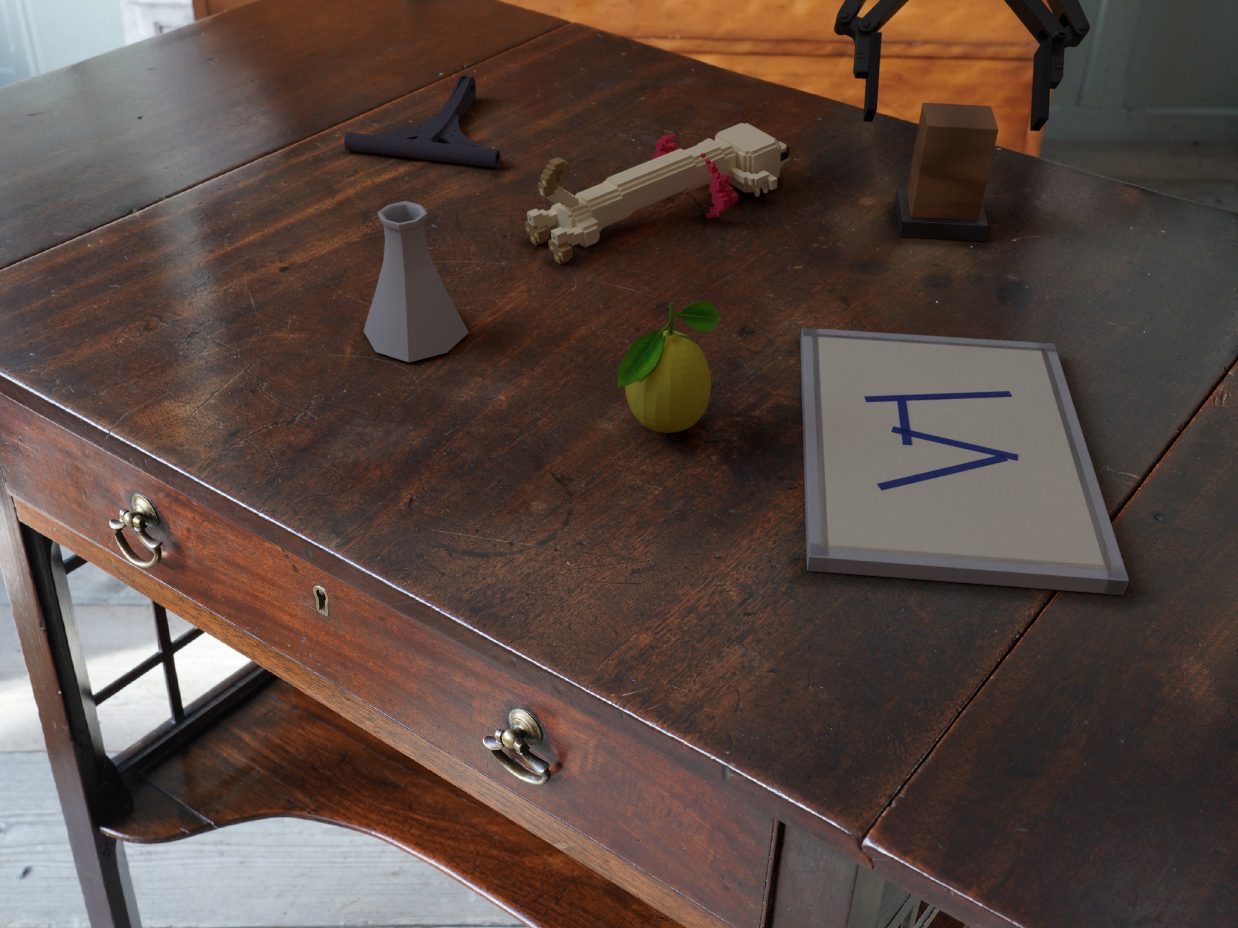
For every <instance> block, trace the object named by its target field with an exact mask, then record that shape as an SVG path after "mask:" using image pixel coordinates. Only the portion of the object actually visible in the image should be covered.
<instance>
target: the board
mask: <svg viewBox="0 0 1238 928" xmlns="http://www.w3.org/2000/svg"><path fill="white" fill-rule="evenodd" d="M799 343H800V346H799V347H800V376H801V378H800V379H801V380H800V381H801V410H802V411H801V413H802V414H801V416H802V445H803V446H802V447H803V448H802V449H803V481H804V482H803V484H804V517H805V548H806V551H805V552H806V553H805V554H806V571H807V572H818V573H830V574H831V573H833V574H845V575H856V576H857V575H858V576H872V577H873V576H874V577H881V578H882V577H883V578H895V579H896V578H897V579H910V580H921V581H922V580H923V581H936V582H947V583H948V582H949V583H961V584H973V585H974V584H975V585H988V586H989V585H990V586H1001V587H1002V586H1003V587H1013V588H1015V587H1016V588H1025V589H1026V588H1027V589H1039V590H1040V589H1041V590H1053V591H1068V592H1079V593H1080V592H1081V593H1091V594H1103V595H1114V596H1115V595H1116V596H1124V594H1125V592H1126V589H1127V587H1128V585H1129V581H1130V579H1129V576H1128V573H1127V570H1126V566H1125V564H1124V560H1123V558H1122V554H1121V551H1120V548H1119V544H1118V542H1117V537H1116V535H1115V532H1114V528H1113V525H1112V523H1111V518H1110V516H1109V513H1108V510H1107V506H1106V502H1105V500H1104V496H1103V494H1102V491H1101V488H1100V484H1099V481H1098V478H1097V474H1096V472H1095V468H1094V464H1093V461H1092V459H1091V456H1090V453H1089V449H1088V446H1087V443H1086V440H1085V436H1084V434H1083V430H1082V427H1081V424H1080V421H1079V418H1078V414H1077V411H1076V408H1075V405H1074V402H1073V398H1072V395H1071V392H1070V389H1069V386H1068V382H1067V379H1066V376H1065V373H1064V369H1063V367H1062V363H1061V361H1060V357H1059V354H1058V350H1057V348H1056V344H1055V343H1051V342H1035V341H1017V340H1002V339H988V338H987V339H986V338H973V337H972V338H970V337H955V336H954V337H953V336H941V335H926V334H925V335H923V334H909V333H895V332H894V333H892V332H878V331H877V332H876V331H862V330H861V331H860V330H847V329H846V330H845V329H830V328H829V329H828V328H814V327H813V328H812V327H802V328H801V333H800V341H799Z"/></svg>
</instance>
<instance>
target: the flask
mask: <svg viewBox="0 0 1238 928" xmlns="http://www.w3.org/2000/svg"><path fill="white" fill-rule="evenodd" d="M428 214H429V213H428V212H427V211H426V210H425V208H424V207H423V205H422V204H418V203H415V202H411V201H408V200H404V201H400V202H394V203H390V204H387V205H386V206H385V207H383V208H382V209H380V210H379V211H377V217H378V219H379V221H380V223H381V224H382V226H383V232H384V247H383V261H382V266H381V268H380V272H379V276H378V281H377V284H376V288H375V291H374V295H373V299H372V302H371V305H370V307H369V311H368V314H367V317H366V321H365V325H364V328H363V333H364V335H365V337H366V338H367V340H368V342H369V344H370V345H371V347H372V348H373V350H374V352H376V353H378V354H382V355H385V356H388V357H390V358H394V359H396V360H400V361H403V362H407V363H412V362H415V361H416V362H417V361H420V360H423V359H428V358H431V357H435V356H439V355H443V354H446V353H448V352H450V351H451V350H452V349H453V348H454V347H455V346H456V345H457V344H458V343H459V342H460V341H462V339H463V338H465V337H466V336H467V335H468V334H469V330H468V329H467V327H466V325H465V323H464V321H463V319H462V317H461V316H460V313H459V311H458V309H457V308H456V306H455V304H454V301H453V300H452V298H451V297H450V295H449V293H448V291H447V288H446V287H445V285H444V283H443V280H442V278H441V276H440V274H439V272H438V270H437V268H436V266H435V264H434V262H433V259H432V256H431V252H430V249H429V246H428V242H427V238H426V231H425V229H426V228H425V222H427V221H428V218H429V217H428V216H429V215H428Z"/></svg>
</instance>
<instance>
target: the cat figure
mask: <svg viewBox="0 0 1238 928" xmlns="http://www.w3.org/2000/svg"><path fill="white" fill-rule="evenodd" d="M675 139H676V135H675V134H674V133H672V134H667V135H662V136H661V139H658V140H657V141H656V142H655V153H654V154H653V155H652V158H651V159H650V160H647V161H646V162H645V161H644V162H643V163H641V164H638V165H636V166H632V167H631V168H627V169H626V170H623V171H620V172H618V173H615V174H613V175H610V176H607V177H606V179H604V180H603V181H602V183H599V184H596V185H594V186H591V187H589V188H586V189H584V190H581V191H579V192H576V194H575V195H574V194H573V193H571V192H569V191H567V189H564V188H563V187H561V186H560V185H561V181H565V180H567V175H570V166H569V162H567V161H566V160H564V159H563V158H562V157H560V156H556V157H554V158H551V159H548V164H546V165H545V168H544V169H543V170H542V173H541V174H540V175H539V177H540V181H539V182H537V189H538V194H539V195H540V196H542V197H543V198H545V199H547V200H548V201H550V202H552V203H554V204H552V205H551V206H550V209H547V210H545V209H544V208H542V209H540V210H539V209H537V208H533V209H531V210H528V211H526V217H527V220H526V221H524V229H525V230H524V231H525V233H526V234H528V235H529V241H530V242H531V243H532V244H533V245H535V246H539V245H542V244H544V243H546V240H547V242H548V251H549V252H551V253H552V254H553V260H554V261H555V262H556V263H557V264H558V265H562V264H565V263H567V262H569V261H570V260H571V259H573V258H574V254H573V246H576V245H579V246H582V247H583V248H584V249H585V248H588V247H590V246H592V245H594V244H597V243H598V242H599V241H600V238H601V234H600V232H602V230H603V229H604V228H606V227H608V226H610V225H613V224H616V223H618V222H621V221H622V220H625V219H628V218H629V217H630V216H631V215H632V214H633V213H634V212H636V211H639V210H641V209H643V208H646V207H648V206H651V205H652V204H653V205H654V204H656V203H658V202H660V201H663V200H665V199H667V198H670V197H672V196H674V195H676V194H679V193H682V194H683V195H684V194H687V193H689V192H692V191H694V190H697V189H699V188H703V187H704V186H706V185H709V193H710V194H711V203H712V204H713V205H714V206H711V207H709V213H706V214H705V218H706V219H711V220H712V219H716V217H722V216H723V212H725V211H727V210H728V209H729V208H730V206H732V205H733V204H735V203H736V202H738V201H739V194H738V193H736V192H735V191H734V187H735V188H737V189H739V190H740V191H742V192H743V193H751V194H752V193H754V196H755V197H756V198H758V197H760V196H761V190H762V193H764V194H767V193H768V192H769V190H770V191H773V190H776V189H778V178H779V177H780V175H781V168H784V167H785V164H786V163H788V162H790V157H789V155H790V146H788V145H787V144H785V143H784V142H783V141H780V140H777V139H776V138H775V137H773V136H771V135H769V134H768V133H766V132H764V131H763V130H760V129H759V128H757V127H755V126H754V125H752V124H751V123H747V122H746V123H743V122H740V123H737V124H735V125H732V126H731V127H728V128H725V129H723V130H720V131H718V132H717V133H716V134H715V136H714V139H712V138H709V137H708V138H706V139H703V141H701V142H699V143H696V145H694V146H690V147H688V148H686V149H683V148H679V147H677V143H676V142H672V140H675ZM671 142H672V143H671ZM732 186H734V187H732ZM553 226H555V227H556V228H553V229H552V230H550V235H551V239H549V229H548V228H550V227H553Z"/></svg>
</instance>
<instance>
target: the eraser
mask: <svg viewBox="0 0 1238 928" xmlns="http://www.w3.org/2000/svg"><path fill="white" fill-rule="evenodd" d="M920 108H921V109H920V114H919V119H918V126H917V131H916V137H915V141H914V142H915V143H914V148H913V154H912V159H911V165H910V171H909V177H908V182H907V186H906V187H896V191H895V197H894V202H893V203H894V208H895V215H896V222H897V228H898V233H899V234H898V235H899V237H900V238H916V239H929V240H930V239H931V240H947V241H948V240H949V241H964V242H965V241H967V242H982V243H983V242H984V243H985V242H986V240H987V236H988V235H987V234H988V231H989V222H988V218H987V216H986V211H985V208H984V205H983V202H984V197H985V193H986V188H987V184H988V179H989V175H990V171H991V165H992V161H993V156H994V152H995V149H996V148H995V147H996V143H997V139H998V134H999V131H1000V130H999V126H998V123H997V120H996V117H995V114H994V111H993V109H992V105H981V104H980V105H979V104H978V105H977V104H960V103H959V104H957V103H942V102H941V103H939V102H938V103H937V102H922V103H921V107H920Z"/></svg>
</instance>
